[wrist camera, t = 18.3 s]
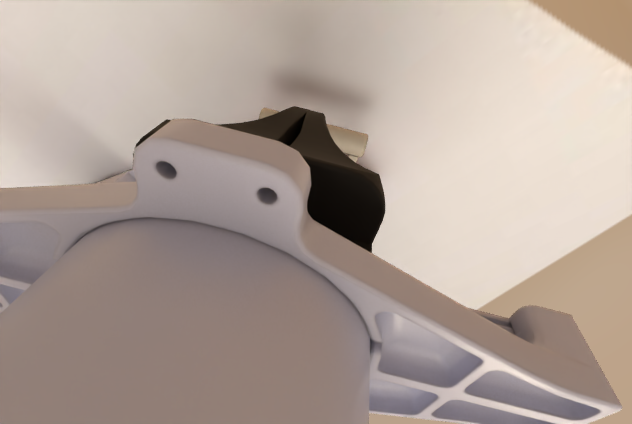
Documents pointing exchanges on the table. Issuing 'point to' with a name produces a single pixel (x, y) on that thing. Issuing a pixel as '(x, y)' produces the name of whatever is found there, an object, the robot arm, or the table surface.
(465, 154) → the table surface
